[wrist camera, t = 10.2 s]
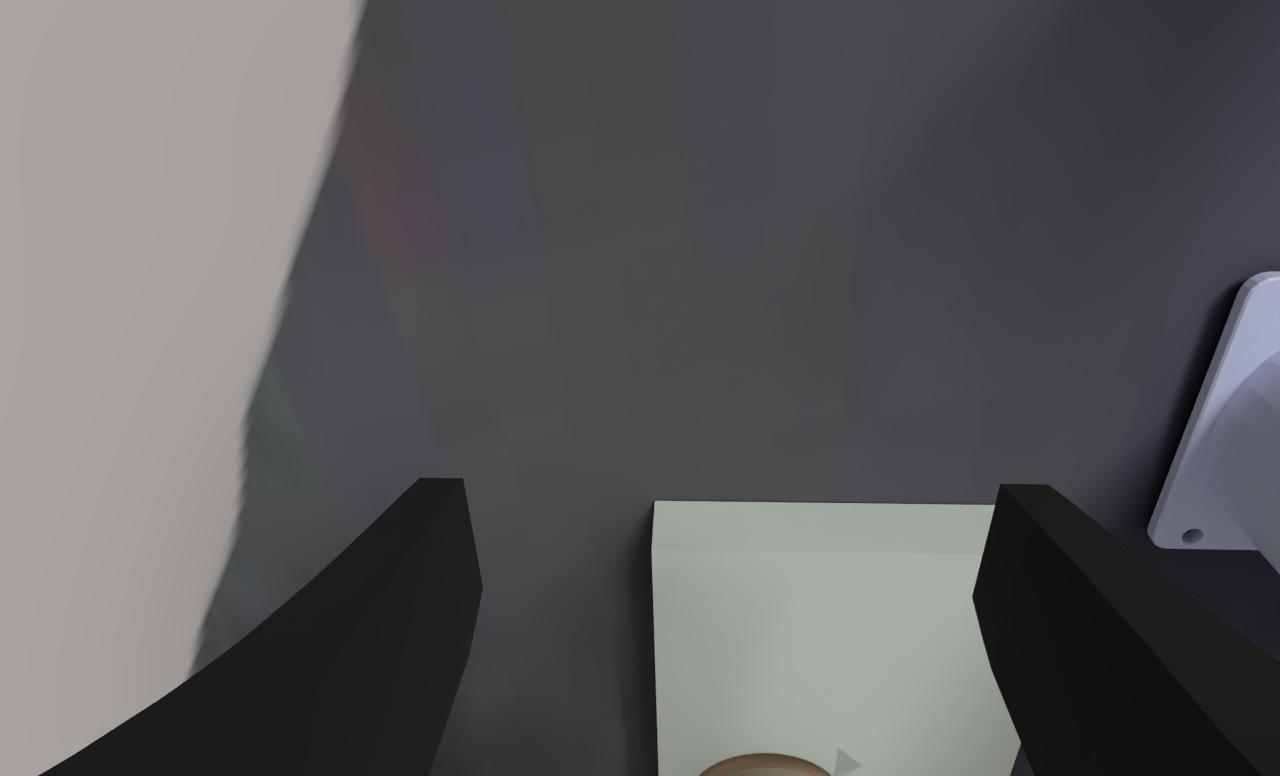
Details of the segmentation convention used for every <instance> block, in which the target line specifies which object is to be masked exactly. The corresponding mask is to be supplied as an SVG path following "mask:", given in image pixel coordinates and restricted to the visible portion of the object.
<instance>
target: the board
mask: <svg viewBox="0 0 1280 776" xmlns="http://www.w3.org/2000/svg"><path fill="white" fill-rule="evenodd" d="M994 508H995V505H947V504H866V503H784V502H703V501H655V505H654V520H653V535H652V579H653V610H654V642H655V674H656V706H657V738H658V769H659V776H699V775H700V774H701V773H702V772H703V771H705V770H706V769H707V768H709V767H710V766H712V765H714V764H716V763H718V762H720V761H723V760H725V759H729V758H732V757H735V756H740V755H745V754H754V753H776V754H784V755H789V756H794V757H798V758H801V759H804V760H807V761H809V762H812V763H814V764H816V765H818V766H819V767H821V768H823V769H824V770H825V771H827V772H828V773H829V774H830V775H831V776H1010V774H1011V771H1012V768H1013V765H1014V762H1015V759H1016V756H1017V753H1018V750H1019V747H1020V744H1021V741H1020V739H1019V737H1018V734H1017V732H1016V729H1015V727H1014V724H1013V722H1012V720H1011V717H1010V715H1009V712H1008V710H1007V707H1006V705H1005V702H1004V700H1003V697H1002V695H1001V693H1000V690H999V688H998V685H997V683H996V680H995V677H994V675H993V672H992V670H991V667H990V663H989V660H988V656H987V653H986V649H985V646H984V642H983V639H982V635H981V631H980V627H979V623H978V619H977V615H976V611H975V607H974V603H973V599H972V595H973V591H974V587H975V583H976V579H977V575H978V571H979V567H980V563H981V559H982V555H983V551H984V547H985V543H986V539H987V535H988V531H989V527H990V523H991V519H992V516H993V512H994Z"/></svg>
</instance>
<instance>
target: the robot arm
mask: <svg viewBox="0 0 1280 776" xmlns="http://www.w3.org/2000/svg"><path fill="white" fill-rule="evenodd" d="M1190 529H1193V530H1192V531H1190V532H1188V533H1185V532H1187V531H1188V530H1190ZM1147 533H1148V535H1149V537H1150V539H1151V540H1152V541H1153V543H1154V544H1155V545H1156V546H1158V547H1160V548H1165V549H1219V550H1259V551H1260V552H1261V554H1262V555H1263V556H1264V557H1265V558H1266V559H1267V560H1268V562H1269V563H1270V564H1271V565H1272V566H1273V567H1274V568H1275V570H1276V571H1277V572H1278V573H1279V574H1280V272H1264V273H1259V274H1257V275H1255V276H1253V277H1251V278H1250V279H1248V280H1247V281H1246V282H1245V283H1244V284H1243V285H1242V286H1241V288H1240V290H1239V291H1238V294H1237V296H1236V299H1235V301H1234V304H1233V307H1232V309H1231V312H1230V314H1229V317H1228V320H1227V322H1226V325H1225V327H1224V330H1223V333H1222V335H1221V338H1220V340H1219V343H1218V346H1217V348H1216V351H1215V353H1214V356H1213V359H1212V361H1211V364H1210V366H1209V369H1208V372H1207V374H1206V377H1205V379H1204V382H1203V385H1202V387H1201V390H1200V392H1199V395H1198V398H1197V400H1196V403H1195V405H1194V408H1193V411H1192V413H1191V416H1190V418H1189V421H1188V424H1187V426H1186V429H1185V431H1184V434H1183V437H1182V439H1181V442H1180V444H1179V447H1178V450H1177V452H1176V455H1175V457H1174V460H1173V463H1172V465H1171V468H1170V470H1169V473H1168V476H1167V478H1166V481H1165V483H1164V486H1163V489H1162V491H1161V494H1160V496H1159V499H1158V502H1157V504H1156V507H1155V509H1154V512H1153V514H1152V517H1151V520H1150V522H1149V525H1148V528H1147ZM482 589H483V586H482V580H481V575H480V569H479V564H478V558H477V553H476V547H475V542H474V536H473V531H472V525H471V520H470V514H469V509H468V503H467V498H466V492H465V487H464V481H463V478H419V479H418V480H417V481H416V482H415V483H414V484H413V485H412V486H411V487H410V488H409V489H408V490H406V491H405V492H404V493H403V494H402V495H401V496H400V497H399V498H398V499H397V500H396V501H395V502H394V503H393V504H392V505H391V506H390V507H389V508H388V509H387V510H386V511H385V512H384V513H382V514H381V515H380V516H379V517H378V518H377V519H376V520H375V521H374V522H373V523H372V524H371V525H370V526H369V527H368V528H367V529H366V530H365V531H364V532H363V533H362V534H361V535H360V536H359V537H358V538H357V539H356V540H354V541H353V542H352V543H351V544H350V545H349V546H348V547H347V548H346V549H345V550H344V551H343V552H342V553H341V554H340V555H338V556H337V557H336V558H335V559H334V560H333V561H332V562H331V563H330V564H329V565H328V566H327V567H326V568H324V569H323V570H322V571H321V572H320V573H319V574H318V575H317V576H316V577H315V578H314V579H313V580H311V581H310V582H309V583H308V584H307V585H306V586H304V587H303V588H302V589H301V590H300V591H299V592H297V593H296V594H295V595H294V596H293V597H292V598H290V599H289V600H288V601H287V602H286V603H284V604H283V605H282V606H281V607H280V608H279V609H277V610H276V611H275V612H274V613H273V614H272V615H270V616H269V617H268V618H267V619H266V620H265V621H263V622H262V623H261V624H260V625H259V626H258V627H256V628H255V629H254V630H253V631H251V632H250V633H249V634H248V635H246V636H245V637H244V638H243V639H241V640H240V641H239V642H238V643H236V644H235V645H234V646H232V647H231V648H230V649H229V650H227V651H226V652H225V653H223V654H222V655H221V656H219V657H218V658H217V659H215V660H214V661H213V662H211V663H210V664H209V665H207V666H206V667H204V668H203V669H202V670H200V671H199V672H198V673H196V674H195V675H193V676H192V677H191V678H189V679H188V680H187V681H185V682H184V683H182V684H181V685H180V686H178V687H177V688H175V689H174V690H173V691H171V692H170V693H168V694H167V695H165V696H164V697H162V698H161V699H160V700H158V701H157V702H155V703H153V704H152V705H150V706H149V707H147V708H146V709H144V710H143V711H141V712H139V713H138V714H136V715H135V716H133V717H132V718H130V719H129V720H127V721H126V722H124V723H122V724H121V725H119V726H118V727H116V728H115V729H113V730H112V731H110V732H109V733H107V734H106V735H104V736H102V737H101V738H99V739H98V740H96V741H94V742H93V743H91V744H90V745H88V746H87V747H85V748H84V749H82V750H81V751H79V752H77V753H76V754H74V755H72V756H71V757H69V758H68V759H66V760H65V761H63V762H61V763H59V764H57V765H56V766H54V767H52V768H51V769H49V770H47V771H46V772H44V773H42V774H40V775H39V776H428V775H429V772H430V769H431V766H432V763H433V760H434V757H435V754H436V751H437V748H438V745H439V743H440V740H441V737H442V734H443V731H444V728H445V725H446V722H447V719H448V716H449V713H450V710H451V707H452V704H453V701H454V699H455V696H456V693H457V690H458V687H459V684H460V681H461V678H462V675H463V672H464V669H465V665H466V662H467V659H468V656H469V652H470V648H471V643H472V639H473V634H474V629H475V625H476V620H477V615H478V609H479V604H480V599H481V594H482ZM972 599H973V603H974V607H975V611H976V615H977V619H978V623H979V627H980V631H981V635H982V639H983V642H984V646H985V649H986V653H987V656H988V660H989V663H990V667H991V670H992V672H993V675H994V677H995V680H996V683H997V685H998V688H999V690H1000V693H1001V695H1002V697H1003V700H1004V702H1005V705H1006V707H1007V710H1008V712H1009V715H1010V717H1011V720H1012V722H1013V724H1014V727H1015V729H1016V732H1017V734H1018V737H1019V739H1020V741H1021V744H1022V746H1023V749H1024V751H1025V753H1026V756H1027V758H1028V761H1029V763H1030V765H1031V768H1032V770H1033V773H1034V775H1035V776H1280V662H1278V661H1277V660H1276V659H1274V658H1273V657H1271V656H1270V655H1269V654H1267V653H1266V652H1264V651H1263V650H1261V649H1260V648H1259V647H1257V646H1256V645H1254V644H1253V643H1252V642H1250V641H1249V640H1247V639H1246V638H1245V637H1243V636H1242V635H1240V634H1239V633H1238V632H1236V631H1235V630H1233V629H1232V628H1231V627H1229V626H1228V625H1226V624H1225V623H1224V622H1222V621H1221V620H1220V619H1218V618H1217V617H1216V616H1214V615H1213V614H1212V613H1210V612H1209V611H1208V610H1206V609H1205V608H1204V607H1202V606H1201V605H1200V604H1198V603H1197V602H1196V601H1195V600H1193V599H1192V598H1191V597H1189V596H1188V595H1187V594H1185V593H1184V592H1183V591H1182V590H1180V589H1179V588H1178V587H1176V586H1175V585H1174V584H1173V583H1171V582H1170V581H1169V580H1167V579H1166V578H1165V577H1164V576H1162V575H1161V574H1160V573H1159V572H1157V571H1156V570H1155V569H1154V568H1152V567H1151V566H1150V565H1149V564H1147V563H1146V562H1145V561H1144V560H1142V559H1141V558H1140V557H1139V556H1137V555H1136V554H1135V553H1134V552H1132V551H1131V550H1130V549H1129V548H1127V547H1126V546H1125V545H1124V544H1122V543H1121V542H1120V541H1119V540H1118V539H1116V538H1115V537H1114V536H1113V535H1111V534H1110V533H1109V532H1108V531H1106V530H1105V529H1104V528H1103V527H1102V526H1100V525H1099V524H1098V523H1097V522H1095V521H1094V520H1093V519H1092V518H1090V517H1089V516H1088V515H1087V514H1086V513H1084V512H1083V511H1082V510H1081V509H1079V508H1078V507H1077V506H1076V505H1074V504H1073V503H1072V502H1071V501H1069V500H1068V499H1067V498H1065V497H1064V496H1063V495H1062V494H1060V493H1059V492H1058V491H1056V490H1055V489H1054V488H1052V487H1051V486H1049V485H1035V484H1000V488H999V492H998V496H997V500H996V504H995V508H994V512H993V516H992V519H991V523H990V527H989V531H988V535H987V539H986V543H985V547H984V551H983V555H982V559H981V563H980V567H979V571H978V575H977V579H976V583H975V587H974V591H973V595H972Z"/></svg>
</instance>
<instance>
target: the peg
mask: <svg viewBox="0 0 1280 776" xmlns="http://www.w3.org/2000/svg"><path fill="white" fill-rule="evenodd" d="M699 776H831V775H830V774H829V773H828V772H827V771H825V770H824V769H823V768H821V767H819V766H818V765H816V764H814V763H812V762H809V761H807V760H804V759H801V758H798V757H794V756H789V755H784V754H776V753H754V754H745V755H740V756H735V757H732V758H729V759H725V760H723V761H720V762H718V763H716V764H714V765H712V766H710V767H709V768H707V769H706V770H705V771H703V772H702V773H701V774H700V775H699Z"/></svg>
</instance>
